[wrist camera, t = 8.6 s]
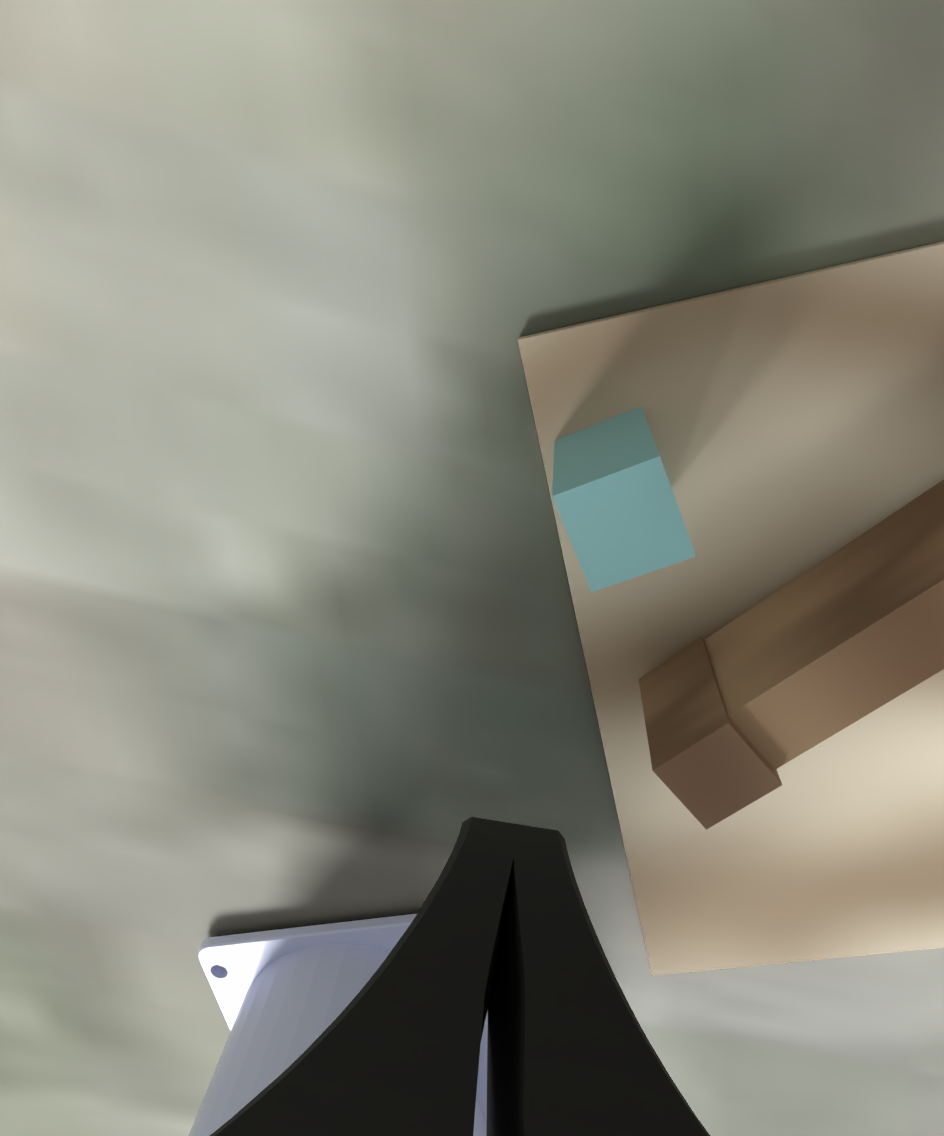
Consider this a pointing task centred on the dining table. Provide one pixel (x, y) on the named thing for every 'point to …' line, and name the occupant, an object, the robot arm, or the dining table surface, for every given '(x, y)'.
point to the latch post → (617, 501)
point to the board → (767, 595)
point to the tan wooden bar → (800, 664)
